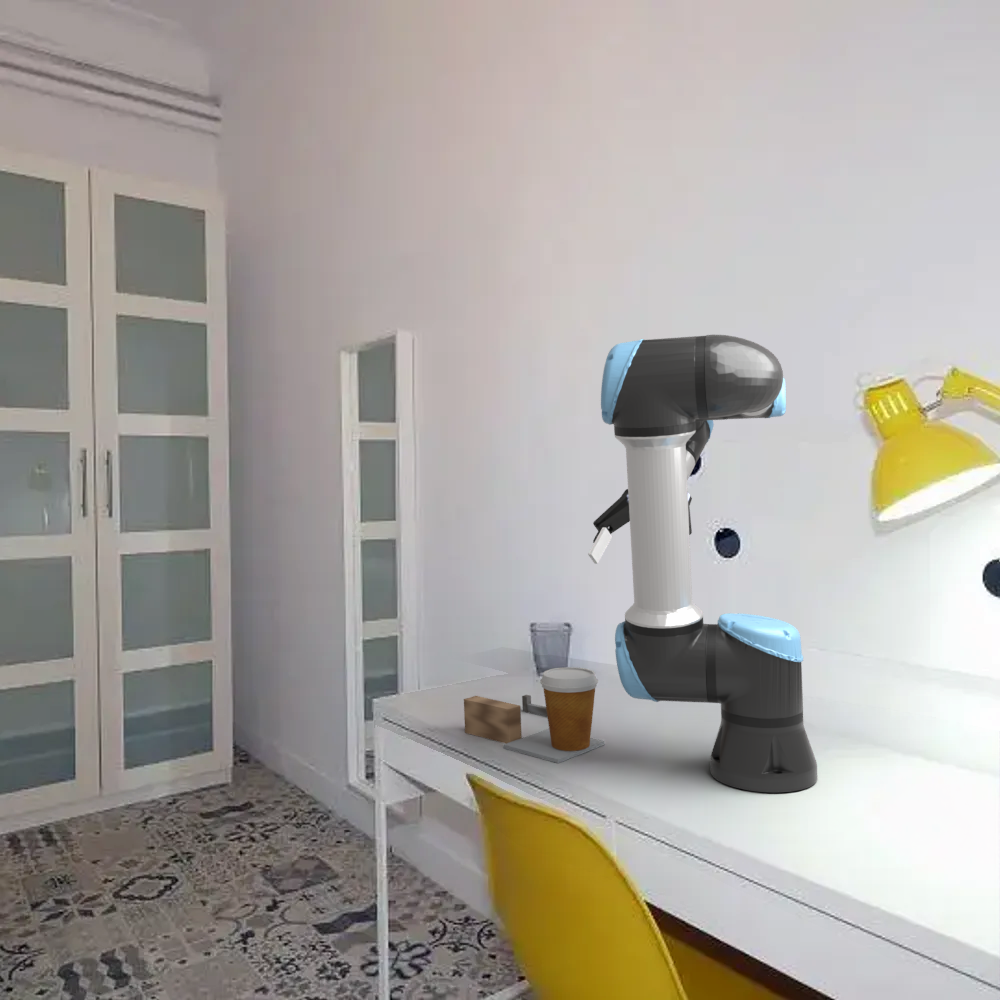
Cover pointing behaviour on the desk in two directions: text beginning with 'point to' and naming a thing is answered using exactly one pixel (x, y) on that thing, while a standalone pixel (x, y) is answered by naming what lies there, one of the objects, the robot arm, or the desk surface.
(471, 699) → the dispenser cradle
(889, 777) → the desk surface
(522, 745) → the grey mat
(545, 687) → the disposable coffee cup
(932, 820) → the desk surface
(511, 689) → the desk surface
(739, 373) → the robot arm
